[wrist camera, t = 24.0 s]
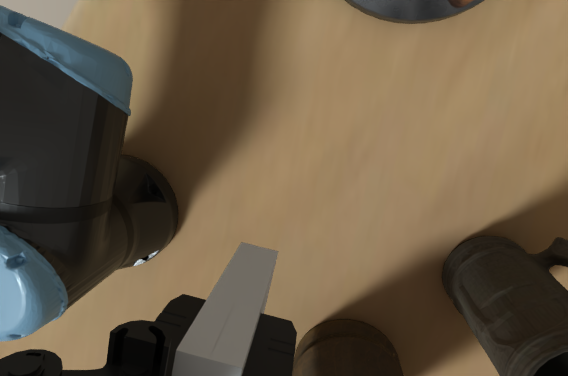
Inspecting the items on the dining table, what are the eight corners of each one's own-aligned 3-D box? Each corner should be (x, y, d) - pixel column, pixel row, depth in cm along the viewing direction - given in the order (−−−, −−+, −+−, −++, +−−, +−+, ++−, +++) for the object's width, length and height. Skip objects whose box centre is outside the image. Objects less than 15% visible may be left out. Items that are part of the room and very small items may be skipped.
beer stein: (486, 329, 48) (598, 478, 29) (420, 285, 48) (488, 406, 28) (570, 240, 44) (763, 341, 25) (499, 192, 44) (639, 257, 25)
